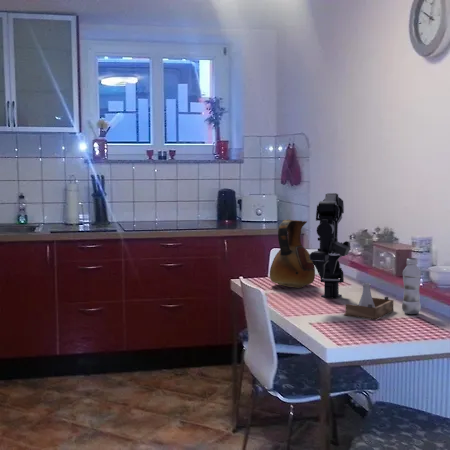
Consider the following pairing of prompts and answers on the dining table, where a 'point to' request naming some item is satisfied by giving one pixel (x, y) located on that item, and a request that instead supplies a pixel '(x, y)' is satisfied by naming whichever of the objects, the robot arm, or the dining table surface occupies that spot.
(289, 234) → the ceramic pitcher
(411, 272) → the plastic bottle
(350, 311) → the holder
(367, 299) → the flask
